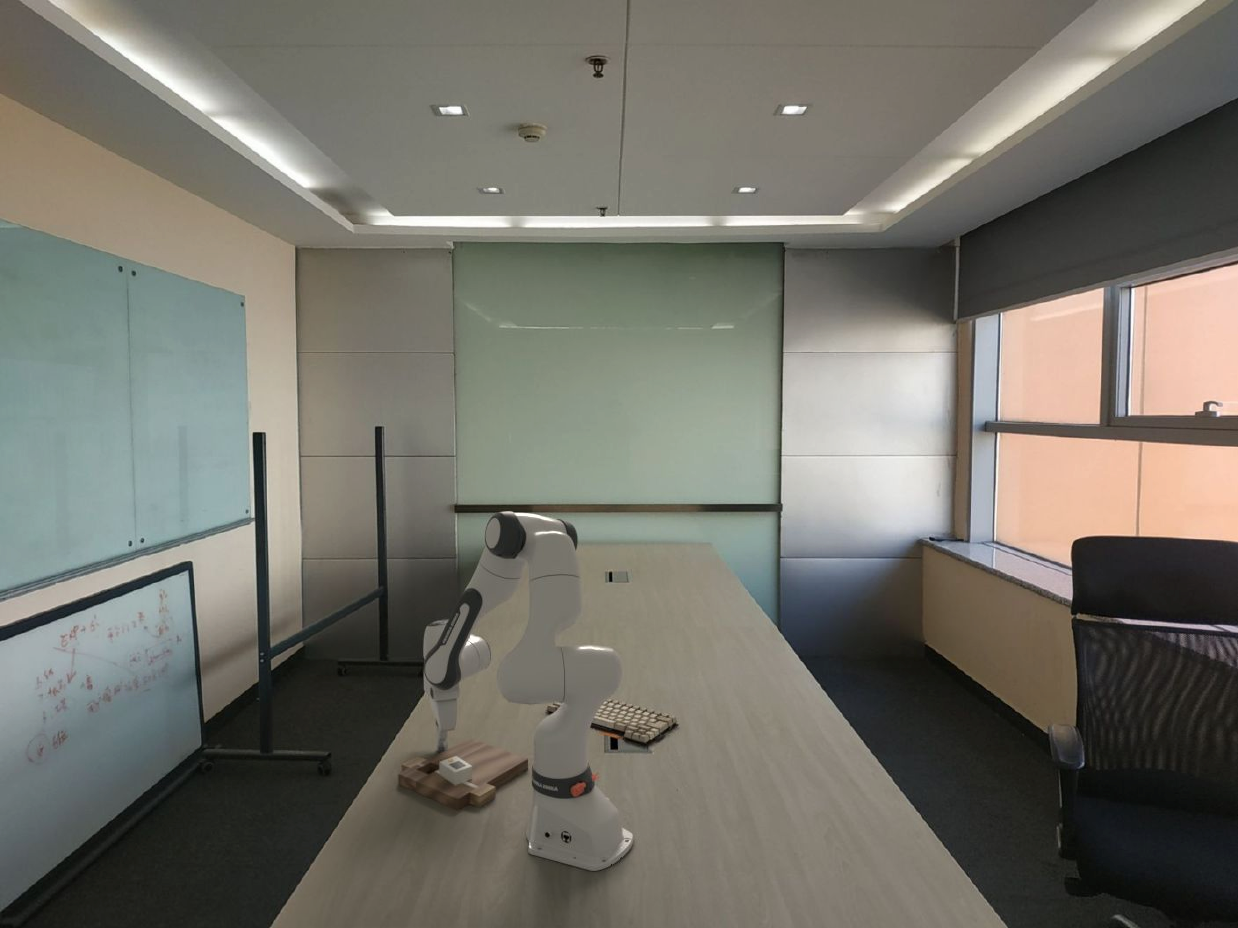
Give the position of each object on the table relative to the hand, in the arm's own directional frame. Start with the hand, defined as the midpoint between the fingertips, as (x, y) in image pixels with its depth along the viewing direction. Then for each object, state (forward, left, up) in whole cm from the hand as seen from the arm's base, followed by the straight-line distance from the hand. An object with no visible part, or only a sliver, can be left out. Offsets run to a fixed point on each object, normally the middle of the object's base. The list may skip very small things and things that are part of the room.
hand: (442, 734), depth 189 cm
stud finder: (-17, +11, -2) cm, 21 cm away
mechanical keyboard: (-24, -41, -5) cm, 48 cm away
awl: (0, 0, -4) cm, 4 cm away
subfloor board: (-15, +6, -4) cm, 17 cm away
